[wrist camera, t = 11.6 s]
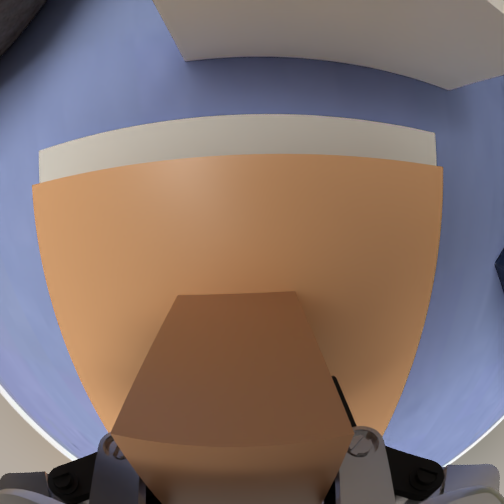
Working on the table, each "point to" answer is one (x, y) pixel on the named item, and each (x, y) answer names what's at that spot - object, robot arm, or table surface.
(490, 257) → the table surface
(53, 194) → the lid
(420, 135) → the mat
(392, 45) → the bin
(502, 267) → the protein box
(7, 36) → the kettlebell
